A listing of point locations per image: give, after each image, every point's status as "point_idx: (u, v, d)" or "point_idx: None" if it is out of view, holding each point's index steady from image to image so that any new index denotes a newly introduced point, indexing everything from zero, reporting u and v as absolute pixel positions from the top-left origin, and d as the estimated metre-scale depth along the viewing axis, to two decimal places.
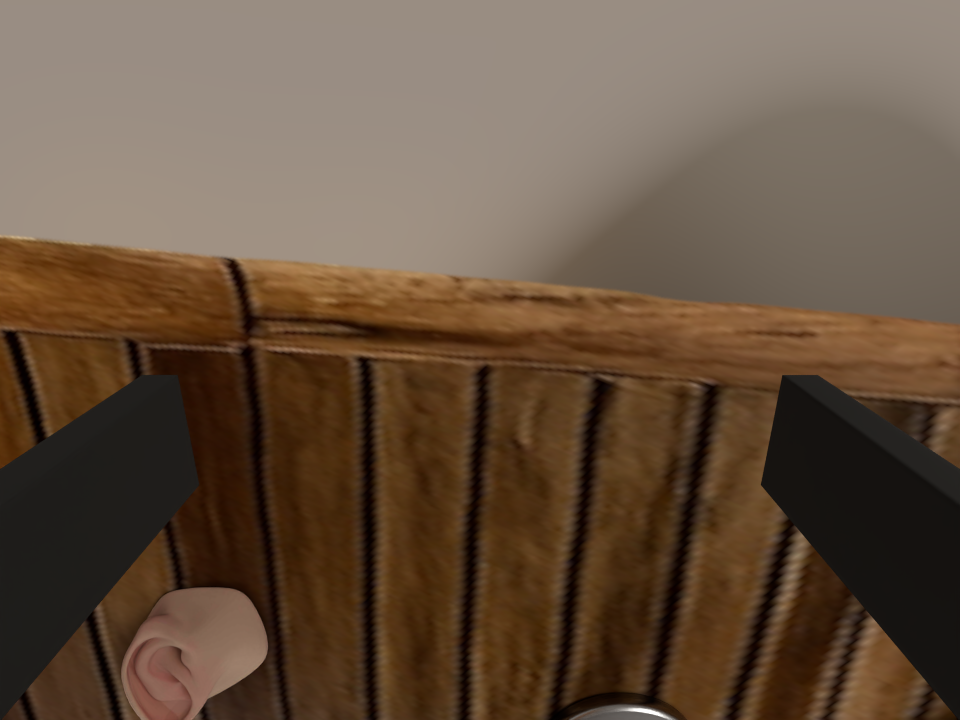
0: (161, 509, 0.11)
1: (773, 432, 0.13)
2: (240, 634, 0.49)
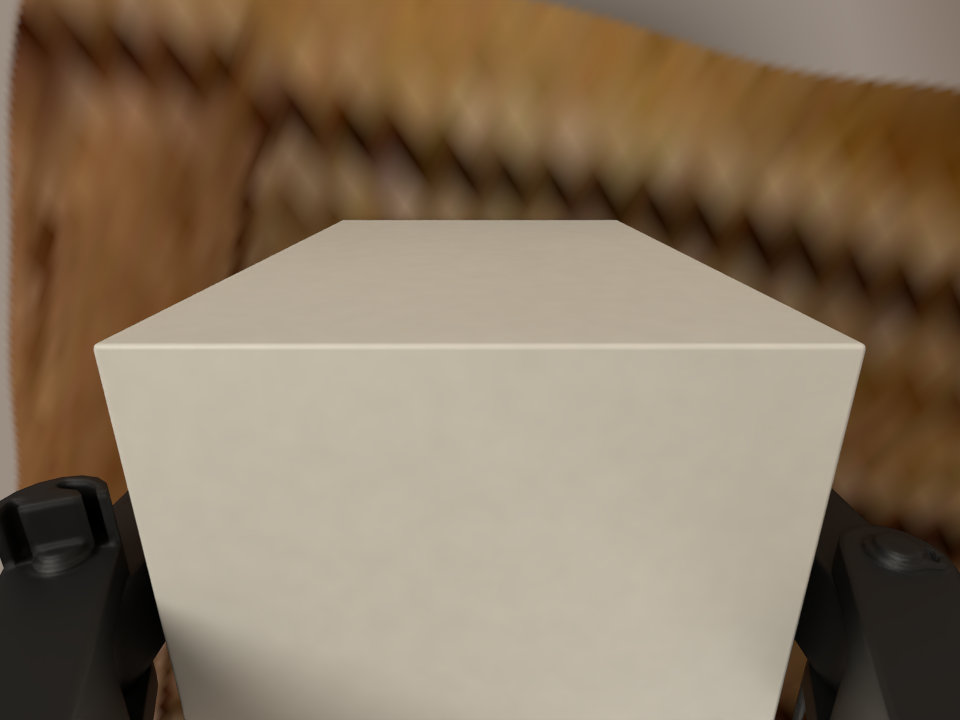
0: None
1: None
2: None
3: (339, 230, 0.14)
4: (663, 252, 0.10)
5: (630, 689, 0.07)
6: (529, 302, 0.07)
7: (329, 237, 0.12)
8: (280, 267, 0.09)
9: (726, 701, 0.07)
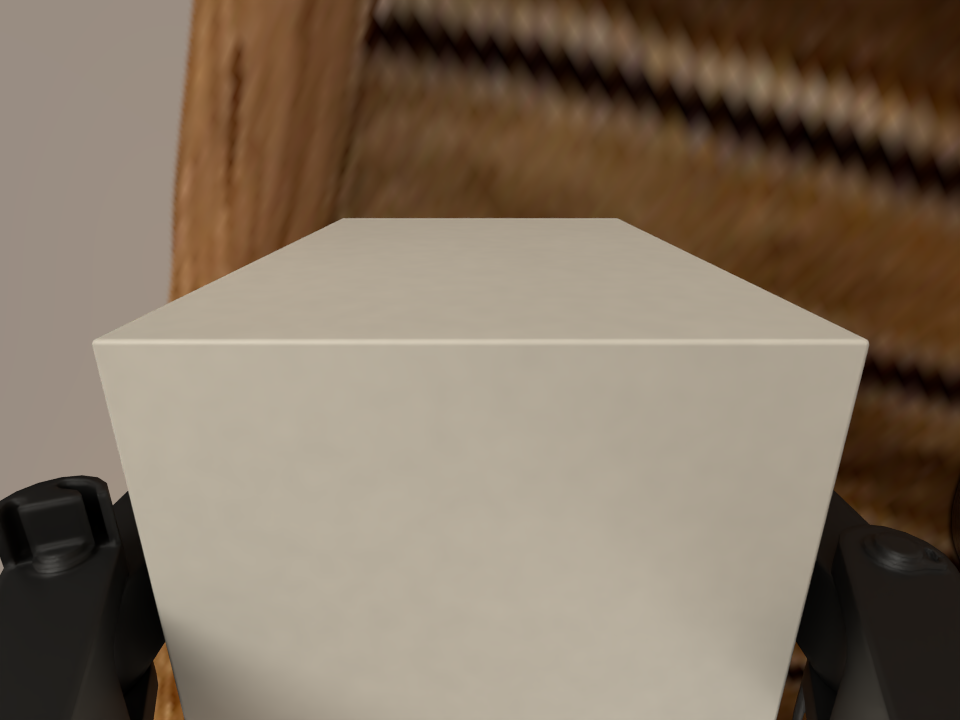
0: None
1: None
2: None
3: (339, 228, 0.13)
4: (664, 249, 0.10)
5: (631, 688, 0.07)
6: (530, 298, 0.07)
7: (329, 235, 0.12)
8: (280, 264, 0.09)
9: (728, 700, 0.07)
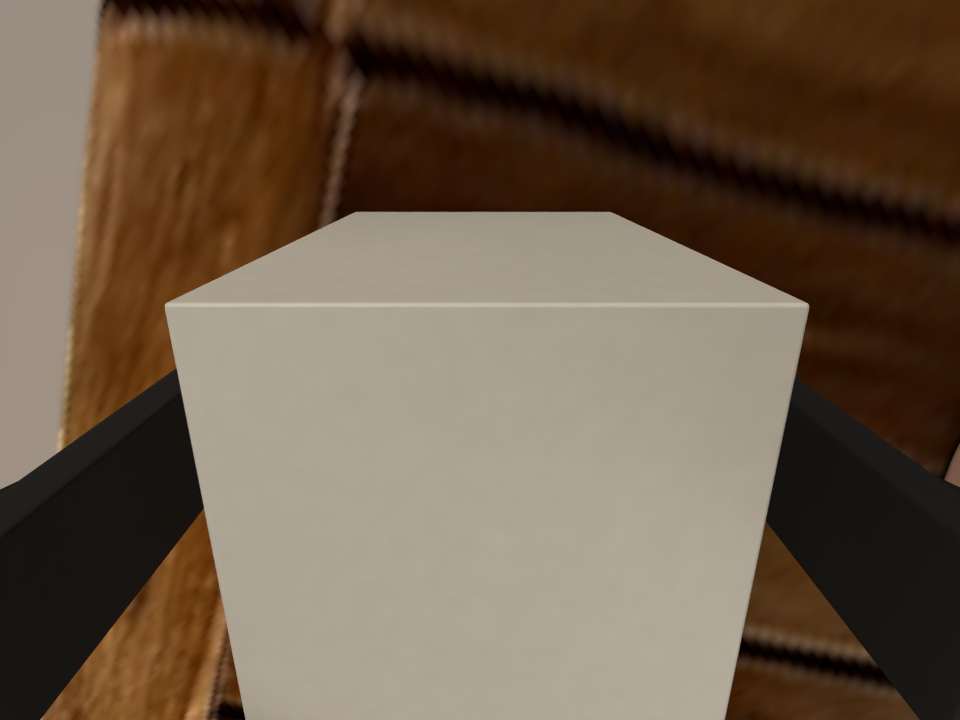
0: (196, 497, 0.12)
1: None
2: None
3: (353, 220, 0.15)
4: (650, 237, 0.12)
5: (615, 610, 0.08)
6: (528, 274, 0.08)
7: (345, 226, 0.14)
8: (306, 249, 0.10)
9: (700, 621, 0.08)
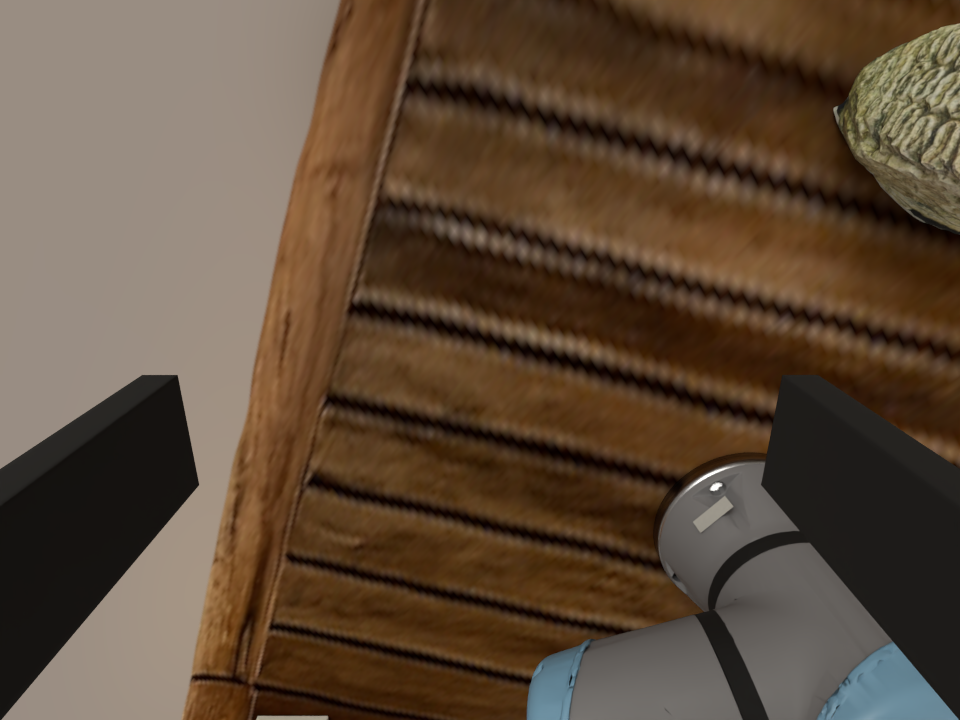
0: (162, 509, 0.11)
1: (773, 433, 0.13)
2: None
3: None
4: None
5: None
6: None
7: None
8: None
9: None
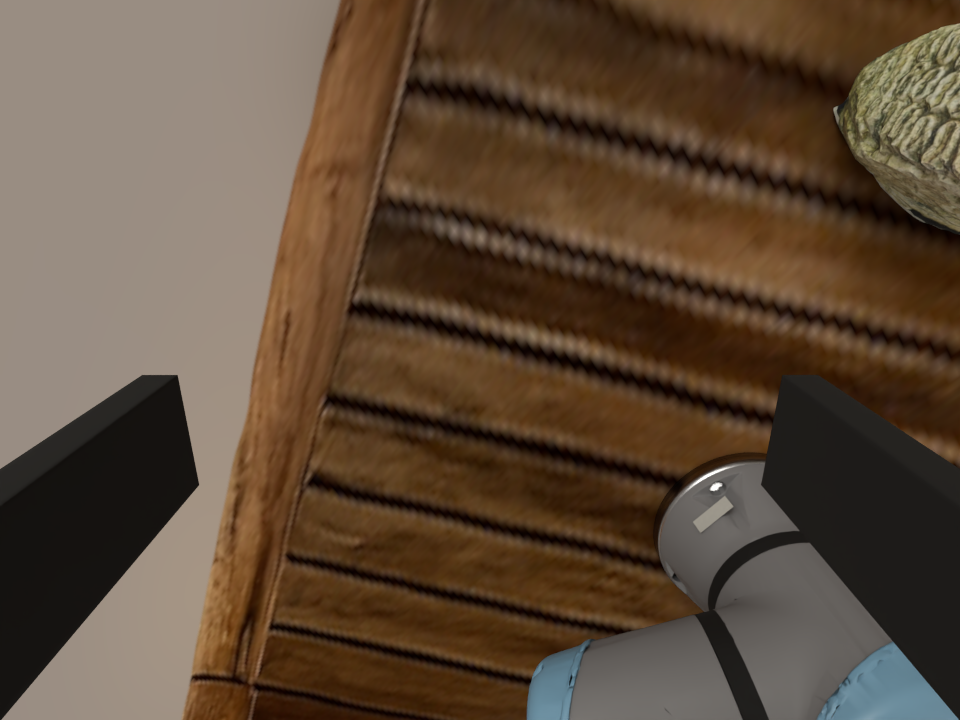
0: (162, 509, 0.11)
1: (773, 433, 0.13)
2: None
3: None
4: None
5: None
6: None
7: None
8: None
9: None
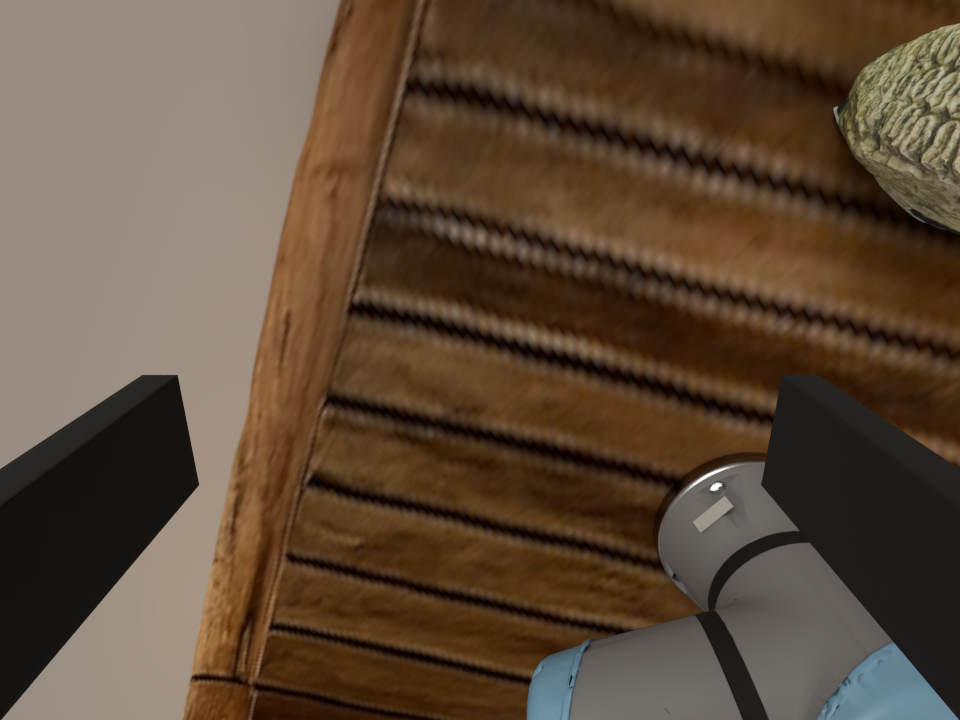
0: (162, 509, 0.11)
1: (773, 433, 0.13)
2: None
3: None
4: None
5: None
6: None
7: None
8: None
9: None
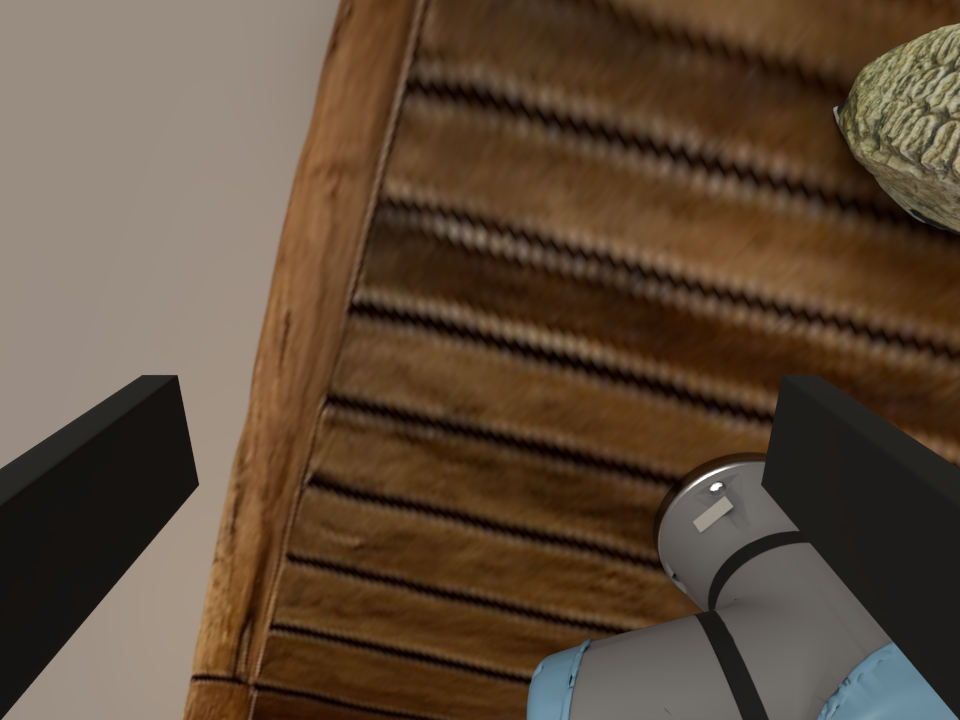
0: (162, 509, 0.11)
1: (773, 433, 0.13)
2: None
3: None
4: None
5: None
6: None
7: None
8: None
9: None
